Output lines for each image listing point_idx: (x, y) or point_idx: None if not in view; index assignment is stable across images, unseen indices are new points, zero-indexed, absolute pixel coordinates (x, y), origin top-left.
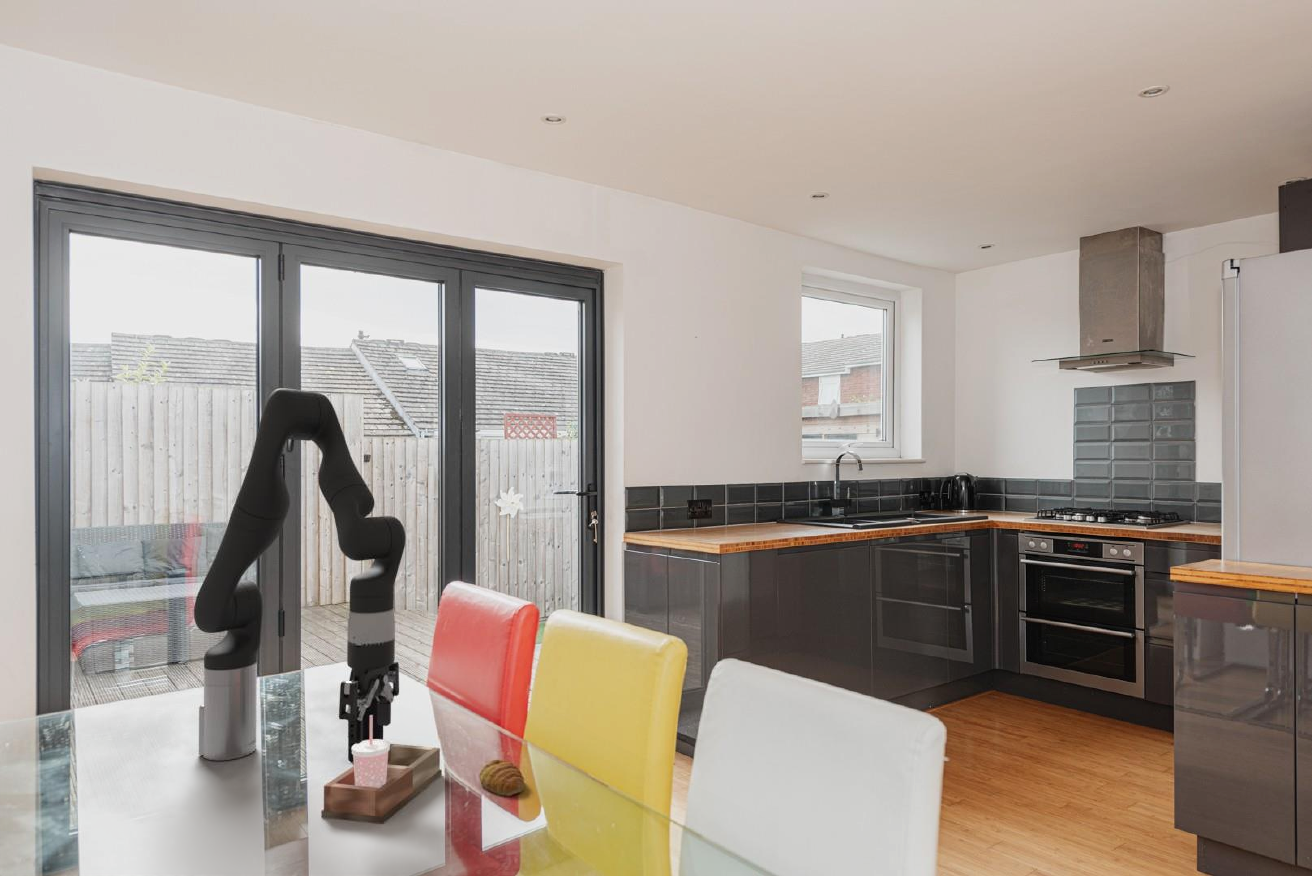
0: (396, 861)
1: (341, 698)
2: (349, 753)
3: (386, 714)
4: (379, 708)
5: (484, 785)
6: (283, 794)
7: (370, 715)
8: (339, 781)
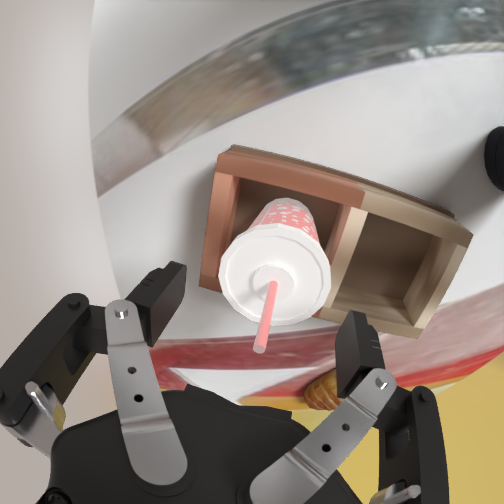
0: (126, 296)
1: (22, 352)
2: (500, 131)
3: (339, 362)
4: (353, 357)
5: (335, 371)
6: (340, 33)
7: (257, 347)
8: (251, 179)
